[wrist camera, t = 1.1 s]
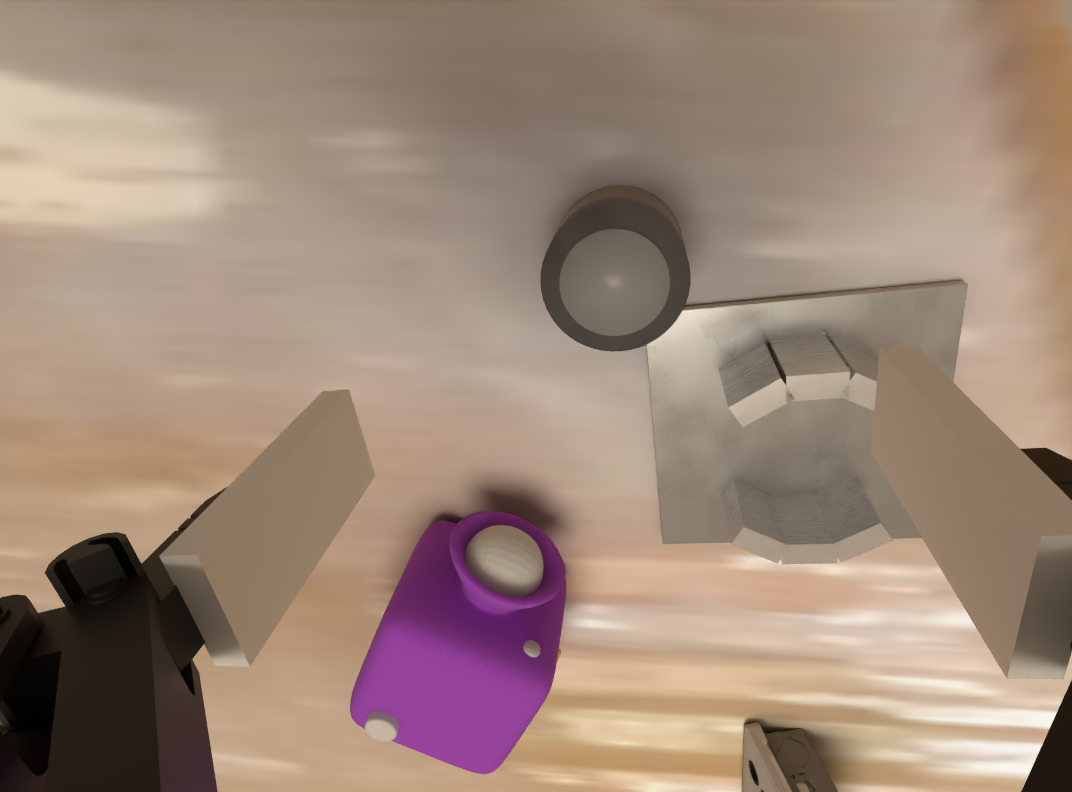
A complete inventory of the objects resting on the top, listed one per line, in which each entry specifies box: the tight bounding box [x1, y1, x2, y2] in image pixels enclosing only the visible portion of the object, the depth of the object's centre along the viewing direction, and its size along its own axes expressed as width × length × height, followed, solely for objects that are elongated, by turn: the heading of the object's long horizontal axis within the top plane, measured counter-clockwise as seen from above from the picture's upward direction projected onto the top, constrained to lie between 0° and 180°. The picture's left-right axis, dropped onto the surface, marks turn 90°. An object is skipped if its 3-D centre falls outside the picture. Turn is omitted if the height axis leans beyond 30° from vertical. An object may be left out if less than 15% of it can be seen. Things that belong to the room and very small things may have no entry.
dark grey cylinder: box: [541, 186, 690, 351], centre depth 28 cm, size 6×6×5 cm
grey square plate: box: [647, 280, 968, 564], centre depth 31 cm, size 14×14×5 cm
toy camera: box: [350, 511, 566, 774], centre depth 36 cm, size 11×14×10 cm
